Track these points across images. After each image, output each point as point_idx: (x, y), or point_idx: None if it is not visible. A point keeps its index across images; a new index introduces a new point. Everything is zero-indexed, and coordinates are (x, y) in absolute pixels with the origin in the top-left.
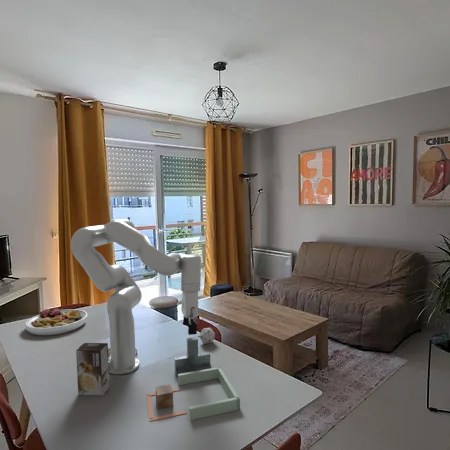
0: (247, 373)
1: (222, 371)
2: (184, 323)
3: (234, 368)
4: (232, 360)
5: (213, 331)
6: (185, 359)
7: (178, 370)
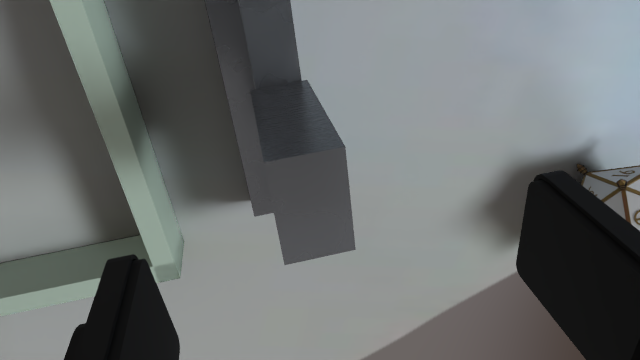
0: (195, 356)
1: None
2: (545, 200)
3: (256, 308)
4: (344, 303)
5: None
6: (251, 62)
7: None
